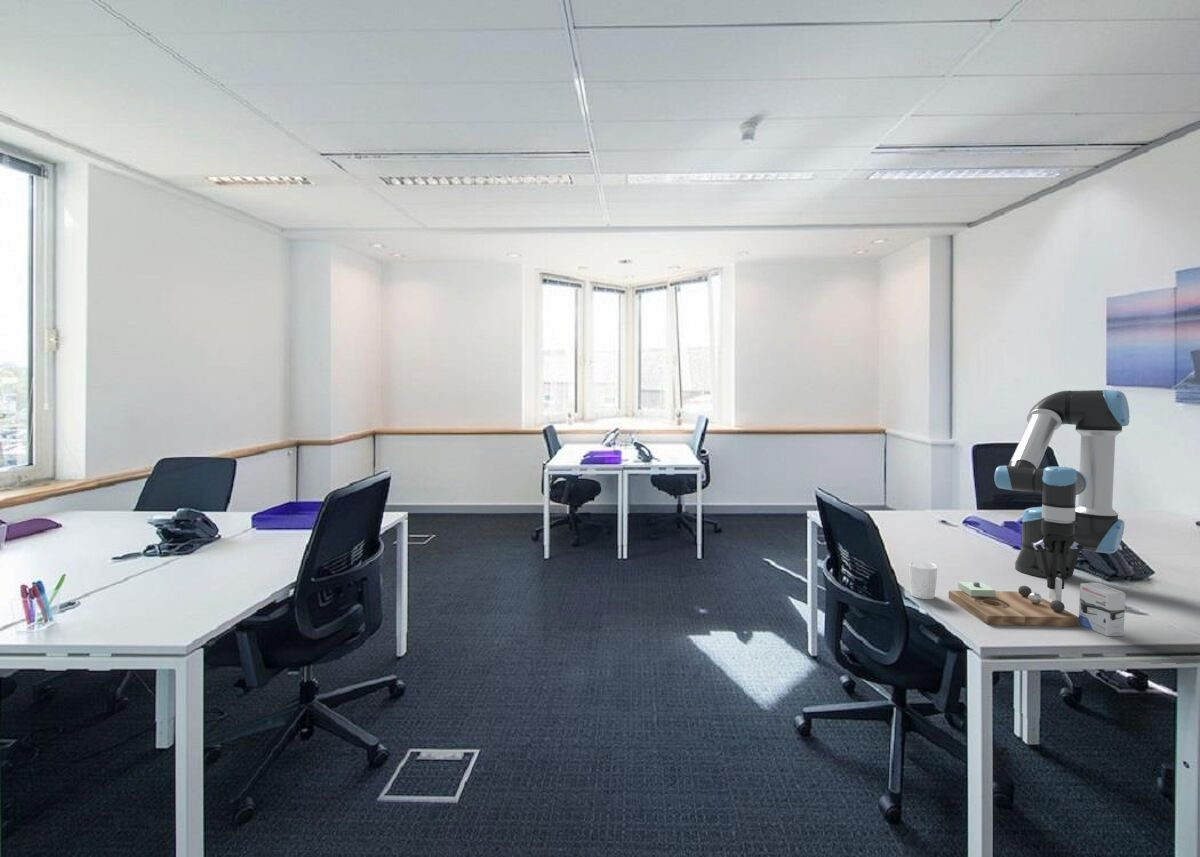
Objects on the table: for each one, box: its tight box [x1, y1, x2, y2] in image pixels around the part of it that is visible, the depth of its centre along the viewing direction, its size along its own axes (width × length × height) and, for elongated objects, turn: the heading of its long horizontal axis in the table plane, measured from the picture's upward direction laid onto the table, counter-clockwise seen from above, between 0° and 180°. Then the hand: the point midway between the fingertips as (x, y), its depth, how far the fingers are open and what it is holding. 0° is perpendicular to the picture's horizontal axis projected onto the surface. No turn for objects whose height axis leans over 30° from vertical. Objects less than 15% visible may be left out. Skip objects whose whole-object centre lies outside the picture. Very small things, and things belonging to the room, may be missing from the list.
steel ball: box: [1028, 592, 1043, 604], centre depth 163 cm, size 3×3×3 cm
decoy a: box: [1017, 585, 1033, 597], centre depth 169 cm, size 3×3×3 cm
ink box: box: [1078, 582, 1126, 637], centre depth 151 cm, size 8×5×12 cm, turn 5°
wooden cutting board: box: [948, 590, 1080, 627], centre depth 164 cm, size 24×20×2 cm
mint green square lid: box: [957, 581, 996, 597], centre depth 172 cm, size 7×7×3 cm
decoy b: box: [1050, 600, 1066, 612], centre depth 157 cm, size 3×3×3 cm
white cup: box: [908, 561, 938, 600], centre depth 178 cm, size 8×8×10 cm
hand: (1055, 599), depth 163 cm, fingers closed
